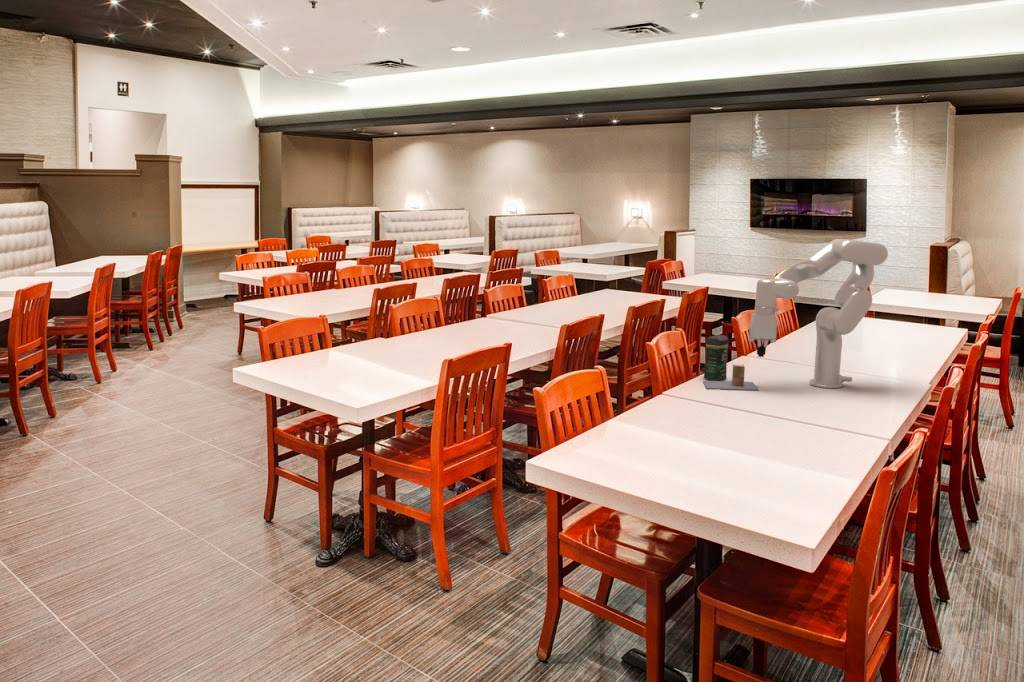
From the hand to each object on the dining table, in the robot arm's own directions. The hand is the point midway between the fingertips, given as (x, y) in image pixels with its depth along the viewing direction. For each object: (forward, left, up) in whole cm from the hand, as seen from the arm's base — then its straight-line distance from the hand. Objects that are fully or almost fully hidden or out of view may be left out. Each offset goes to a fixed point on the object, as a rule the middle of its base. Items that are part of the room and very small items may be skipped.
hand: (760, 356), depth 300 cm
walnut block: (+8, 0, -12) cm, 15 cm away
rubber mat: (+11, 0, -13) cm, 17 cm away
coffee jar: (+15, -13, -13) cm, 24 cm away
